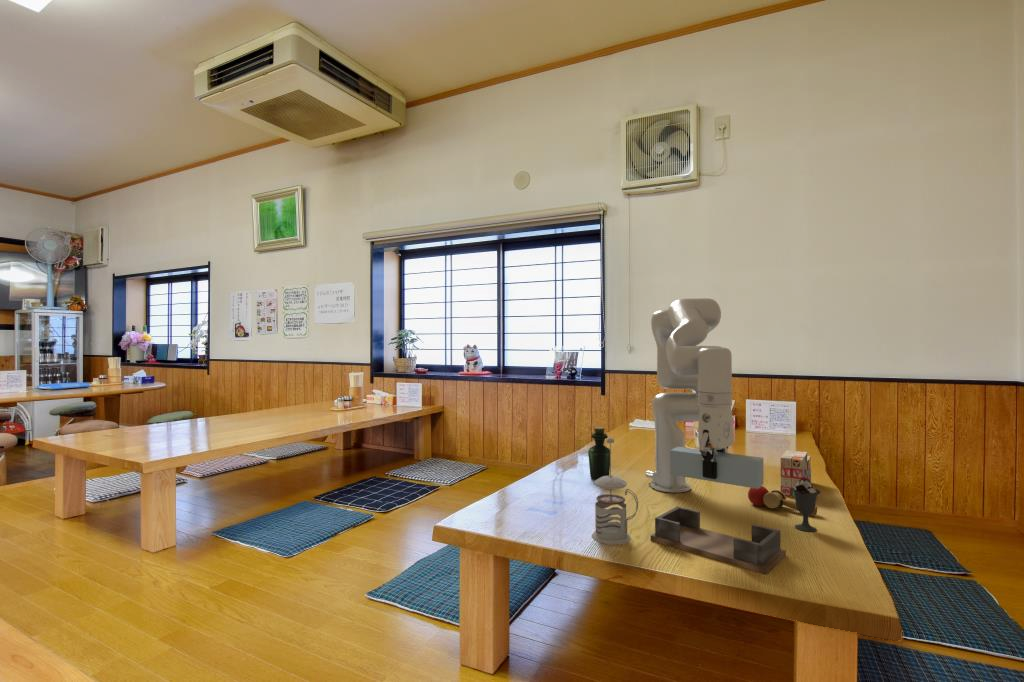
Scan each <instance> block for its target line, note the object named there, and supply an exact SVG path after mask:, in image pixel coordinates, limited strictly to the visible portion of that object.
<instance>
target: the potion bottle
mask: <svg viewBox="0 0 1024 682" xmlns="http://www.w3.org/2000/svg"><path fill="white" fill-rule="evenodd" d="M593 429H594V433H592V434H591V436H590V437H591V438H592V439H593V440H594V443H595V444H594V445H593V446H591V447H589V449H588V451H587V455H588V465H589V475H590V476H589V477H590V478H591V479H592V480H594V481H595V480H597V479H599V478H601V477H603V476H609V475H610V447H607V446H606V445H604V444H605V440H607V439H608V438H609V437H608V434H607V433H605V430H606V429H605V427H603V426H594V428H593Z"/></svg>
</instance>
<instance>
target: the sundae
mask: <svg viewBox="0 0 1024 682" xmlns="http://www.w3.org/2000/svg"><path fill="white" fill-rule="evenodd" d="M806 471H807V470H805V475H806V474H807V472H806ZM805 475H804V476H803V477H801V479H800V480H799V481H798V482H797V485H796V486H794V487H793V488H791V489H792V490H793V491H794V495H795V497H794V499H795V500H794V501H796V507H797V510H798V511H797V510H796V511H797V512H799V513H800V514H801V515H802V523H799V524H795V525H794V527H795V529H797V530H798V531H801V532H807V533H814V532H816V531H817V530H818V529H817V527H815V526H814V525H813V526H811V525H810V523H809V516H810V515H811V514H812V513H813V512H814V510H815V506H817V505H816V503H817V499H818V495H820V494H821V490H820V489H819V488H817V487H816V488H815V486H814V485H813V484H812V481H811V482H810V480H809V479H808V475H807V478H806V477H805Z"/></svg>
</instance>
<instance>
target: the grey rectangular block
mask: <svg viewBox="0 0 1024 682" xmlns="http://www.w3.org/2000/svg"><path fill="white" fill-rule="evenodd" d="M708 451H709V452H710V453H711V455H712V451H710V450H708ZM715 462H717V478H716V479H711V478H705V477H703V461H702V455H701V452H700V451H699V448H691V447H685V448H684V447H676V448H674V449H672V450H670V474H671V475H677V476H683V477H685V478H690V479H697V480H702V481H707V482H714V483H721V484H726V485H732V486H739V487H744V488H749V489H750V488H756V489H759V488H760V487H761V486H763V485H764V457H761V456H753V455H744V454H736V453H732V452H731V453H730V452H728V453H723V452H716V458H715Z"/></svg>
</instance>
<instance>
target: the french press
mask: <svg viewBox="0 0 1024 682" xmlns="http://www.w3.org/2000/svg"><path fill="white" fill-rule="evenodd" d="M606 443H607V444H609V449H610V472H609V476H603V477H601V478H599V479H597V480H594V485H595V486H597V487H598V488H601V489H606V490H607V489H609V493H607V494H606V493H605V494H604V493H603V494H600V495H597V497H596V502H595V505H594V506H595V507H594V508H595V510H594V511H595V522H594V523H595V529H594V532H592V533H591V538H592V540H593V541H596V542H597V543H600V544H605V545H610V546H611V545H615V546H616V545H625V544H627V543H629V542H630V541H631V539H632V538H631V535H629V534H628V521H629V520H632V519H633V518H635V516H636V514H637V512H638V509H639V499H638V497H637V495H636V493H634V492H633V490H631V489H630V488H627V489H625V491H624V495H625V496H627V495H628V494H630V495H631V496H632V497H633V498H634V499H633V500H634V501H635V507H636V508H635V512H634V513H633V514H632V515H630V516H628V517H627V503H625V502H626V498H625V497H623V496H622V495H618V494H612V490H618V489H623V488H625V487H627V486H628V482H627V481H626V480H624V479H622V478H620V477H619V476H615V475H612V458H611V457H612V444H615V440H614V438H612V437H608V438H606ZM615 505H616V506H615ZM617 505H618V506H617ZM611 506H613V507H611ZM619 506H620V507H621V508H620V507H619ZM609 507H610V508H609ZM615 515H617V516H615ZM614 520H615V521H614Z"/></svg>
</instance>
